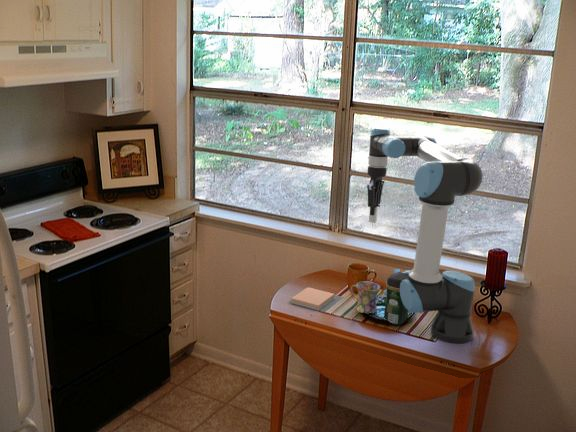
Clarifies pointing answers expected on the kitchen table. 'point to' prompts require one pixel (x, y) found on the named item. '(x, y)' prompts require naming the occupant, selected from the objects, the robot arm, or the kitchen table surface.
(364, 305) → the mug
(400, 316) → the coffee jar
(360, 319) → the kitchen table surface
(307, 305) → the tile
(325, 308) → the mat
